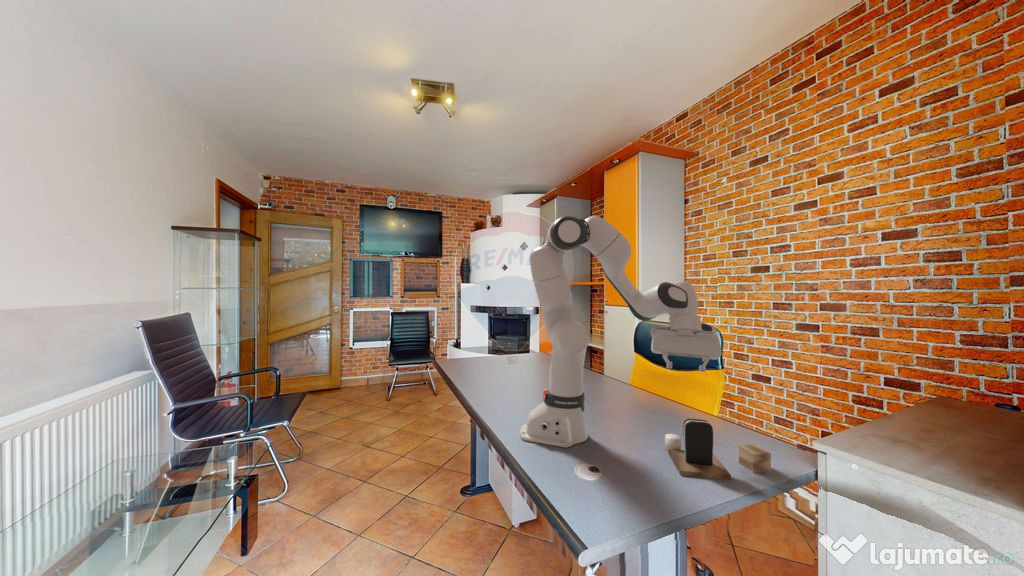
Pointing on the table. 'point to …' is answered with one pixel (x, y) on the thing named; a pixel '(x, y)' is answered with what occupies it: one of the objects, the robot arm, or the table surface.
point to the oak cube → (754, 458)
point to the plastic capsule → (672, 442)
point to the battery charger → (698, 441)
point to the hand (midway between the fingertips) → (685, 369)
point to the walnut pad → (698, 466)
